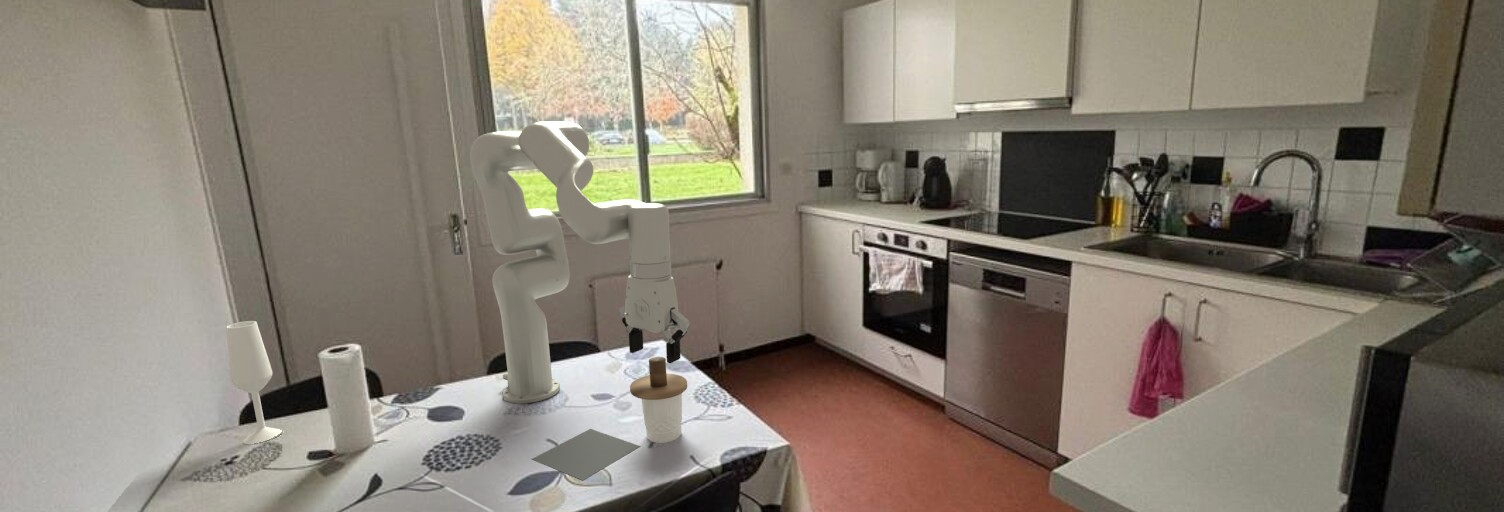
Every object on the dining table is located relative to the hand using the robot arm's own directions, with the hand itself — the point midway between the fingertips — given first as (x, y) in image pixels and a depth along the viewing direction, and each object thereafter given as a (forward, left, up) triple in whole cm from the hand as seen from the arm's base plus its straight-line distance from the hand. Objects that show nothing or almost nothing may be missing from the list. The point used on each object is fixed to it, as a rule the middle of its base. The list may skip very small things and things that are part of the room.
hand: (654, 355), depth 122 cm
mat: (-6, -13, -16) cm, 22 cm away
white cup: (+1, 0, -17) cm, 17 cm away
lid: (+1, 0, -7) cm, 7 cm away
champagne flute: (-70, -43, -17) cm, 84 cm away
